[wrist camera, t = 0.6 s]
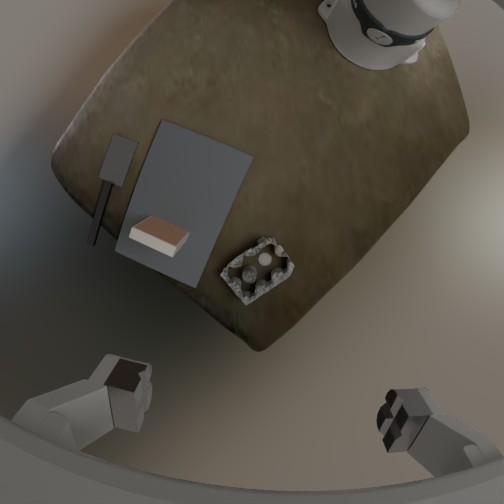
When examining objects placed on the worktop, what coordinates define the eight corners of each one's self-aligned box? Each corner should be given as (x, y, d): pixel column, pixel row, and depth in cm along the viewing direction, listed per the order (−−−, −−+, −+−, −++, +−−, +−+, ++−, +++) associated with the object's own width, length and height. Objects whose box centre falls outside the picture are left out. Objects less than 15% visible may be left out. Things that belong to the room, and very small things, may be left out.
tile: (152, 215, 52) (132, 226, 43) (189, 231, 52) (176, 246, 44) (148, 224, 52) (128, 237, 43) (186, 240, 53) (172, 257, 44)
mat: (163, 119, 48) (162, 119, 47) (253, 157, 49) (253, 157, 49) (115, 249, 54) (114, 250, 54) (196, 286, 56) (195, 288, 55)
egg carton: (270, 229, 53) (271, 235, 49) (296, 264, 54) (299, 272, 50) (218, 266, 55) (215, 274, 51) (245, 298, 56) (244, 309, 52)
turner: (114, 133, 48) (112, 133, 47) (138, 142, 49) (136, 142, 48) (81, 238, 54) (79, 239, 53) (103, 248, 54) (100, 250, 53)
